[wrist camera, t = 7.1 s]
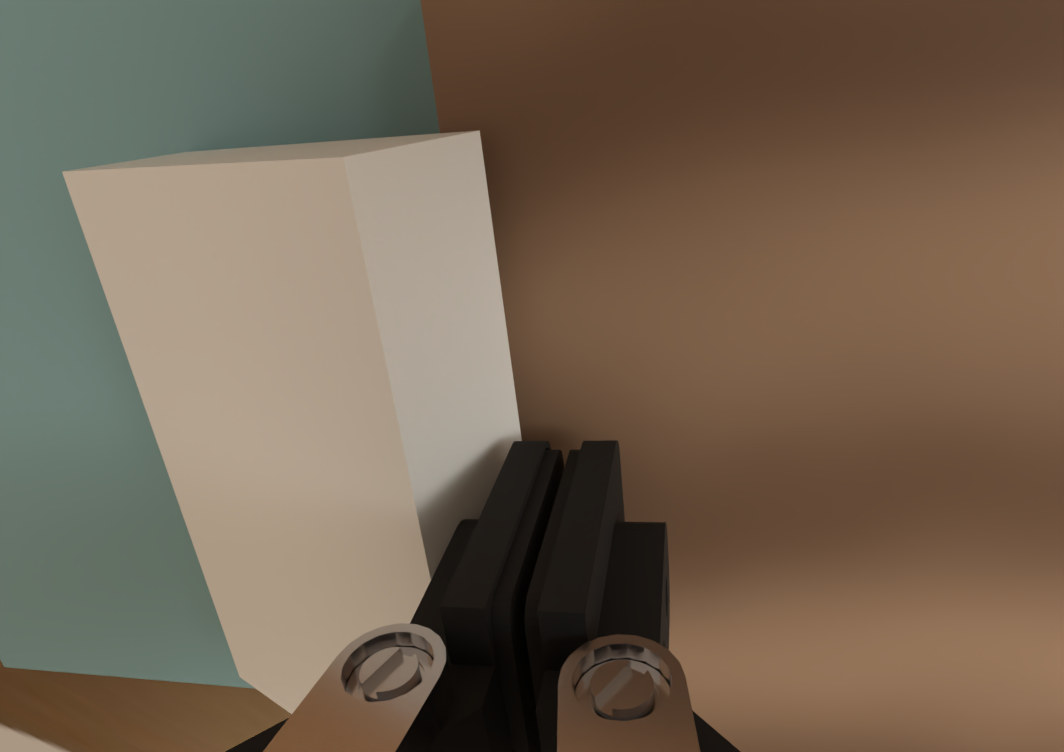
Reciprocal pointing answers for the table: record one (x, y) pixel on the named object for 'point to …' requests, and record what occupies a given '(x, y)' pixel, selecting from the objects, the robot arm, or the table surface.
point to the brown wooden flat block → (800, 335)
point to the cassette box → (312, 372)
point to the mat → (82, 308)
